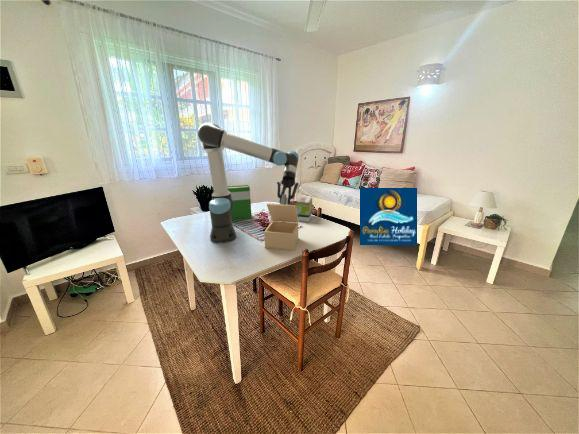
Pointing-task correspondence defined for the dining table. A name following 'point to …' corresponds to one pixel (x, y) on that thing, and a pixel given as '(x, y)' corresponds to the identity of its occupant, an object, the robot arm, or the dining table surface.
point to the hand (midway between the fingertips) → (283, 208)
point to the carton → (281, 235)
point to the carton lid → (283, 211)
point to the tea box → (304, 208)
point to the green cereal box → (240, 202)
